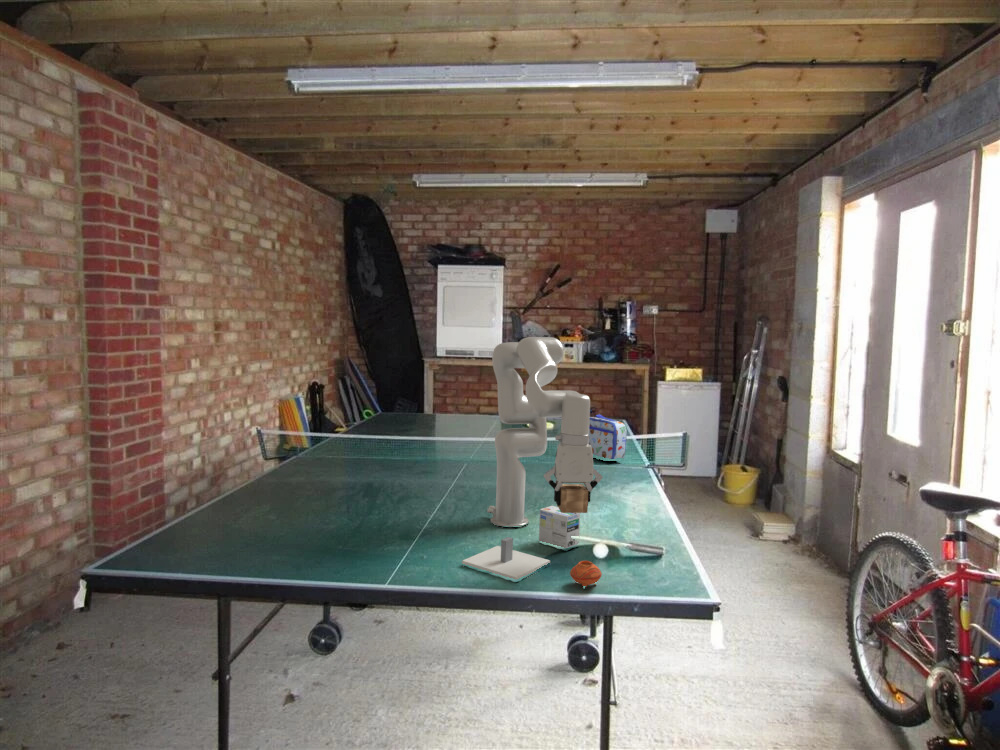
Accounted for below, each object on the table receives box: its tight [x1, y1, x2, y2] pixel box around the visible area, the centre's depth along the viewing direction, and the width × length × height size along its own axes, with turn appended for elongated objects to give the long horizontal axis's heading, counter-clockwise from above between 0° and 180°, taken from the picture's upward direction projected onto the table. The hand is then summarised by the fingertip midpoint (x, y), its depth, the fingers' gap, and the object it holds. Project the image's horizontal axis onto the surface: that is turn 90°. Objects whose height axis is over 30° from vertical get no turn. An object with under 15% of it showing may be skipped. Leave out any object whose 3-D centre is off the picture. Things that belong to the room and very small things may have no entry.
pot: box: [569, 560, 603, 587], centre depth 165 cm, size 8×8×7 cm
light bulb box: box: [538, 505, 581, 548], centre depth 194 cm, size 11×7×11 cm, turn 48°
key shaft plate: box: [461, 536, 551, 580], centre depth 177 cm, size 18×16×8 cm
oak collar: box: [556, 483, 589, 514], centre depth 176 cm, size 7×7×6 cm
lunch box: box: [589, 414, 628, 459], centre depth 325 cm, size 28×10×22 cm, turn 30°
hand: (571, 503), depth 176 cm, fingers closed on oak collar, 7 cm apart
